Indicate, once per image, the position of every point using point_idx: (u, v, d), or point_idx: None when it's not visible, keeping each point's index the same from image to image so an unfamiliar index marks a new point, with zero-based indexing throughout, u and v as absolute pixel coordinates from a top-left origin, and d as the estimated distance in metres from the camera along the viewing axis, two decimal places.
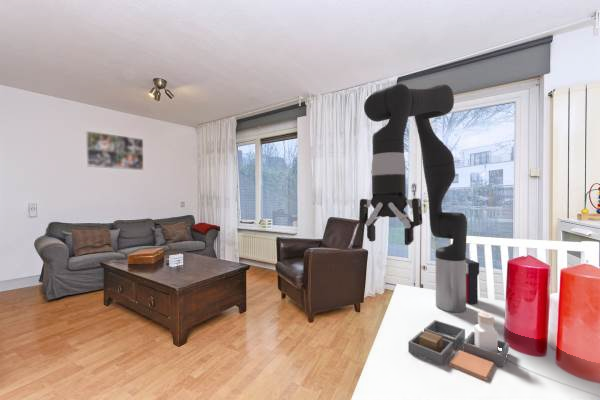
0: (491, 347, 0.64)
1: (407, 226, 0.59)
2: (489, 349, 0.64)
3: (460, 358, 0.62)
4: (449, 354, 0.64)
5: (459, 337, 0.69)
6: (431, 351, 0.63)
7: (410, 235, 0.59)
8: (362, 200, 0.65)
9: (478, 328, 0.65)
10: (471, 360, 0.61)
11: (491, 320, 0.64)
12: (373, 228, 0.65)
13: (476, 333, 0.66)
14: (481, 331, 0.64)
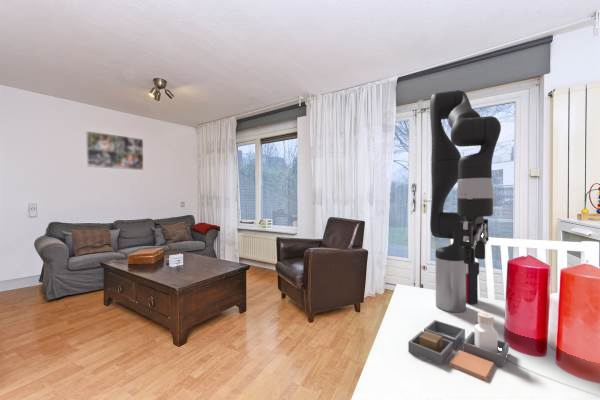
0: (491, 347, 0.64)
1: (485, 243, 0.69)
2: (489, 349, 0.64)
3: (460, 358, 0.62)
4: (449, 354, 0.64)
5: (459, 337, 0.69)
6: (431, 351, 0.63)
7: None
8: (472, 223, 0.62)
9: (478, 328, 0.65)
10: (471, 360, 0.61)
11: (491, 320, 0.64)
12: None
13: (476, 333, 0.66)
14: (481, 331, 0.64)
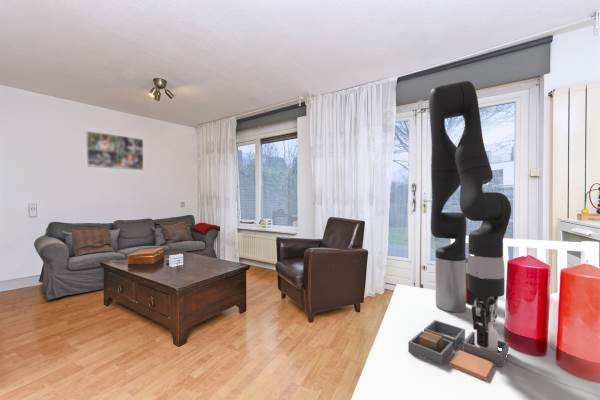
0: (491, 347, 0.64)
1: (494, 321, 0.67)
2: (489, 349, 0.64)
3: (460, 358, 0.62)
4: (449, 354, 0.64)
5: (459, 337, 0.69)
6: (431, 351, 0.63)
7: None
8: (484, 310, 0.61)
9: None
10: (471, 360, 0.61)
11: None
12: None
13: (476, 333, 0.66)
14: None
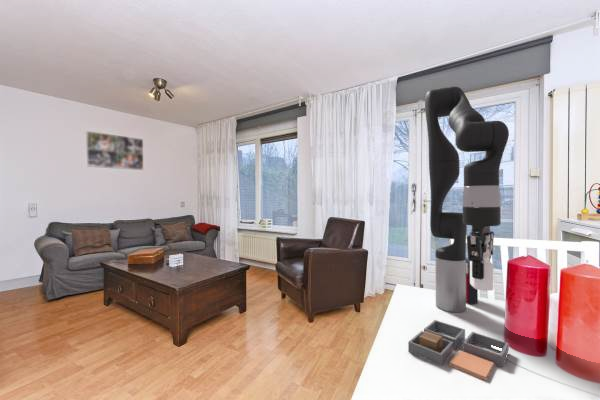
0: (487, 279, 0.61)
1: (490, 257, 0.65)
2: (485, 282, 0.62)
3: (460, 358, 0.62)
4: (449, 354, 0.64)
5: (459, 337, 0.69)
6: (431, 351, 0.63)
7: None
8: (480, 237, 0.58)
9: None
10: (471, 360, 0.61)
11: (487, 252, 0.62)
12: None
13: (471, 268, 0.64)
14: None
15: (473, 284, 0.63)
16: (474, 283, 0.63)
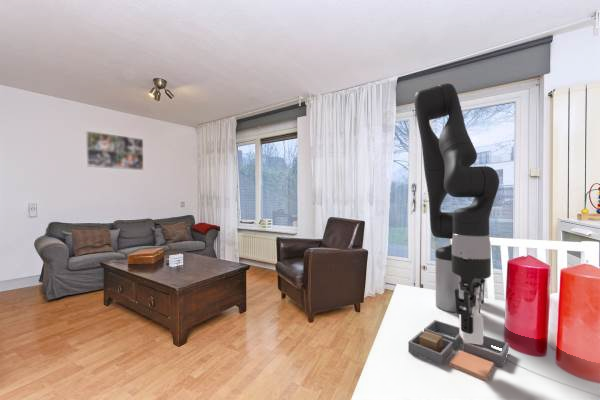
0: (477, 333, 0.59)
1: (481, 307, 0.62)
2: (474, 336, 0.59)
3: (460, 358, 0.62)
4: (449, 354, 0.64)
5: (459, 337, 0.69)
6: (431, 351, 0.63)
7: None
8: (468, 292, 0.56)
9: None
10: (471, 360, 0.61)
11: None
12: None
13: (460, 319, 0.62)
14: None
15: (462, 337, 0.60)
16: (463, 335, 0.60)
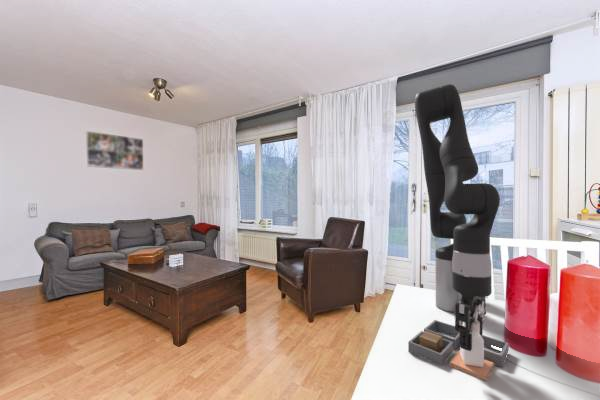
0: (477, 356, 0.59)
1: (483, 318, 0.63)
2: (475, 358, 0.59)
3: (460, 358, 0.62)
4: (449, 354, 0.64)
5: (459, 337, 0.69)
6: (431, 351, 0.63)
7: None
8: (469, 307, 0.56)
9: None
10: None
11: (477, 327, 0.59)
12: None
13: None
14: None
15: (463, 358, 0.60)
16: (463, 357, 0.60)
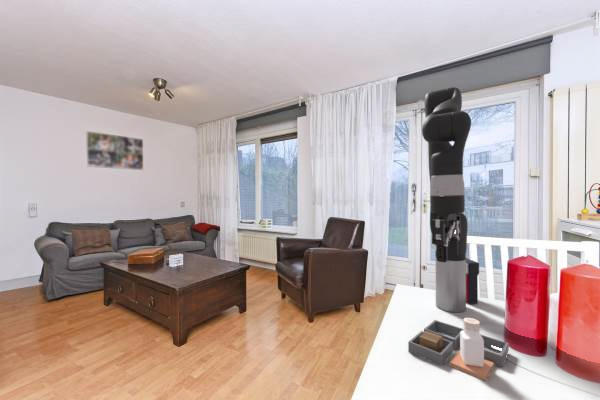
0: (477, 356, 0.59)
1: (458, 239, 0.69)
2: (475, 358, 0.59)
3: (460, 358, 0.62)
4: (449, 354, 0.64)
5: (459, 337, 0.69)
6: (431, 351, 0.63)
7: None
8: (444, 221, 0.61)
9: (463, 335, 0.61)
10: None
11: (477, 326, 0.59)
12: None
13: (461, 340, 0.62)
14: (466, 338, 0.59)
15: (463, 358, 0.60)
16: (463, 357, 0.60)
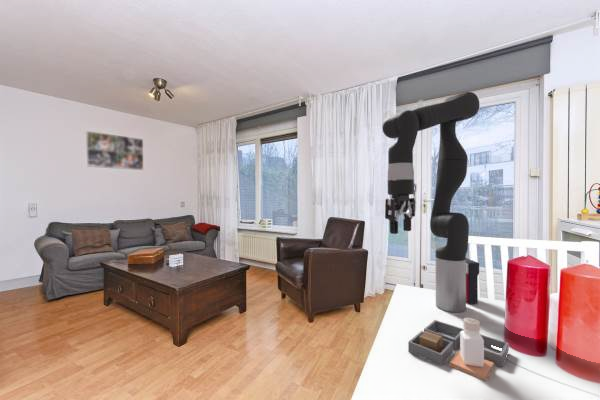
0: (477, 356, 0.59)
1: (411, 217, 0.83)
2: (475, 358, 0.59)
3: (460, 358, 0.62)
4: (449, 354, 0.64)
5: (459, 337, 0.69)
6: (431, 351, 0.63)
7: (410, 223, 0.84)
8: (394, 199, 0.76)
9: (463, 335, 0.61)
10: None
11: (477, 327, 0.59)
12: None
13: (461, 340, 0.62)
14: (466, 338, 0.59)
15: (463, 358, 0.60)
16: (463, 357, 0.60)
